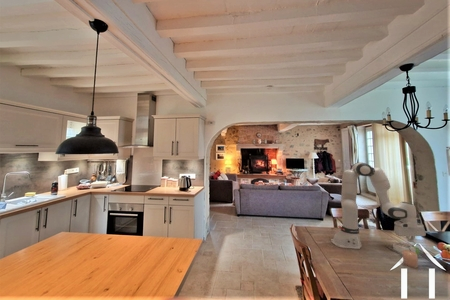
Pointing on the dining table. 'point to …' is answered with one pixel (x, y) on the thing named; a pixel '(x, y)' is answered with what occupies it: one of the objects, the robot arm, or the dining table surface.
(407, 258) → the brown rounded lump
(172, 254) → the dining table surface
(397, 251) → the mat
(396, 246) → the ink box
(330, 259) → the dining table surface
